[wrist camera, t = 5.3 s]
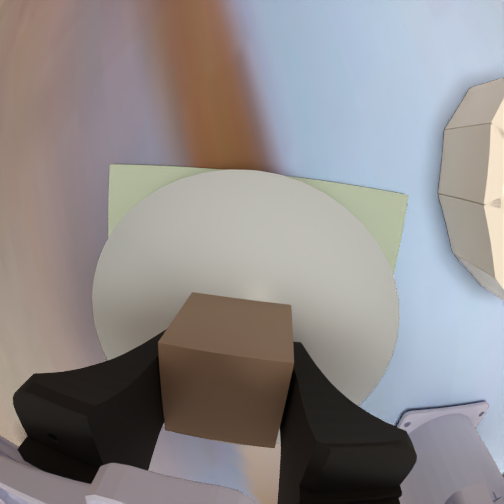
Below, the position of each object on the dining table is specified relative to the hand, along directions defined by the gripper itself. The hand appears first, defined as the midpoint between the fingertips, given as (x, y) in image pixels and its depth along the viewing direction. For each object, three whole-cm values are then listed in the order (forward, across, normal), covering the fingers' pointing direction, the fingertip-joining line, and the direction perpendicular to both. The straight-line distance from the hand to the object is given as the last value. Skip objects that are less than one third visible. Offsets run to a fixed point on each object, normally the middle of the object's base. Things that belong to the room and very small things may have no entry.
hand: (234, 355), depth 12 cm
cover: (+2, 0, 0) cm, 2 cm away
